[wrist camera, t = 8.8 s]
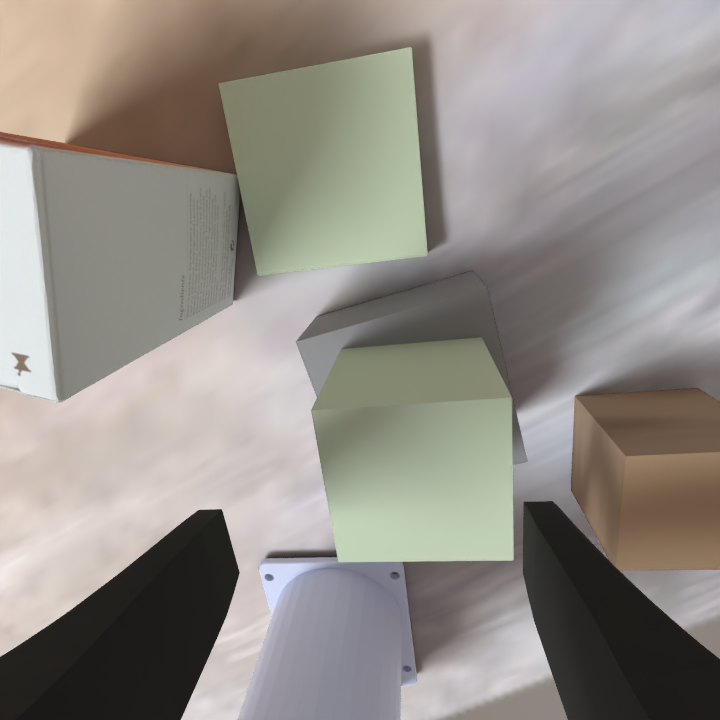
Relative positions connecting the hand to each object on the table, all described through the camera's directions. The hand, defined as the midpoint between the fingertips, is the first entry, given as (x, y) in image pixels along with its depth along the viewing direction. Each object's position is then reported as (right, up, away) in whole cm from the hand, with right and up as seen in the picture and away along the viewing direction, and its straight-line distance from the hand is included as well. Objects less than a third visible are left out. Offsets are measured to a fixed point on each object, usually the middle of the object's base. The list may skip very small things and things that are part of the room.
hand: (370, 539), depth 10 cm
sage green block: (+2, +3, +6) cm, 7 cm away
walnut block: (+12, +1, +10) cm, 16 cm away
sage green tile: (-1, +12, +7) cm, 14 cm away
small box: (-9, +10, +9) cm, 16 cm away
